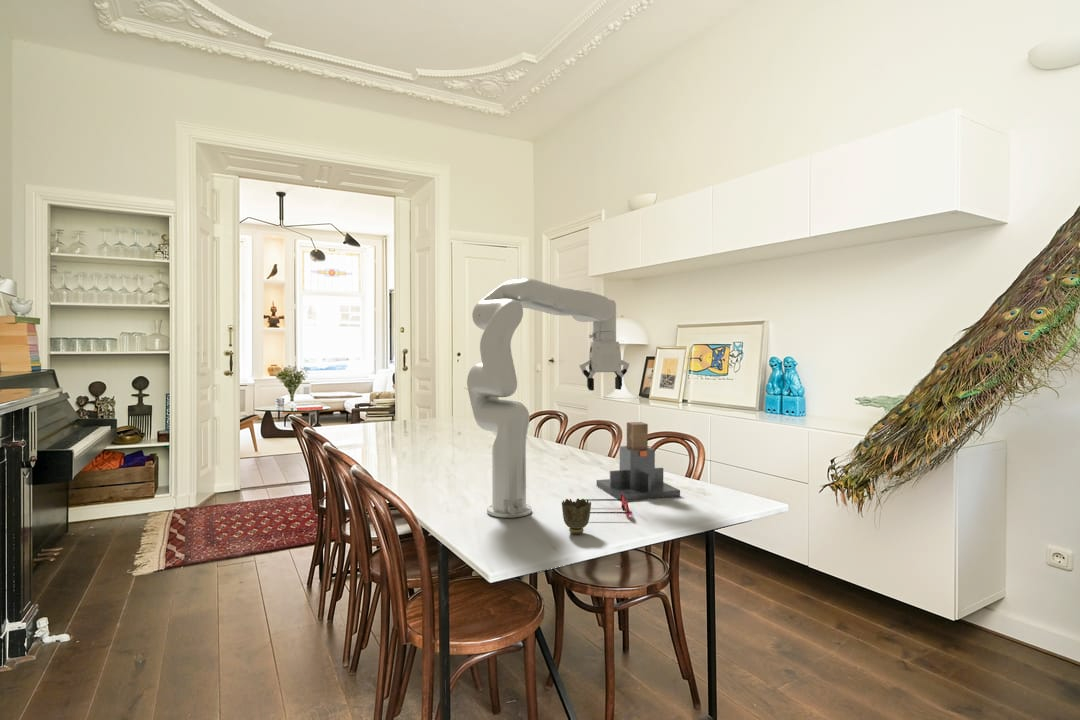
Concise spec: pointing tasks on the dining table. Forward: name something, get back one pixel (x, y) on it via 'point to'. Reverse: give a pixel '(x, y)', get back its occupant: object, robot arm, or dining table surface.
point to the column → (637, 435)
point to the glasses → (615, 500)
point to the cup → (576, 515)
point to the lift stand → (637, 477)
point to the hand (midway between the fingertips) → (604, 389)
